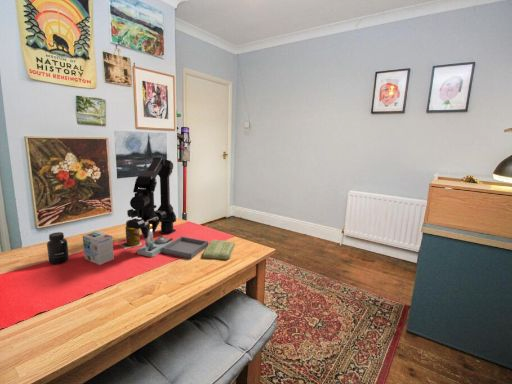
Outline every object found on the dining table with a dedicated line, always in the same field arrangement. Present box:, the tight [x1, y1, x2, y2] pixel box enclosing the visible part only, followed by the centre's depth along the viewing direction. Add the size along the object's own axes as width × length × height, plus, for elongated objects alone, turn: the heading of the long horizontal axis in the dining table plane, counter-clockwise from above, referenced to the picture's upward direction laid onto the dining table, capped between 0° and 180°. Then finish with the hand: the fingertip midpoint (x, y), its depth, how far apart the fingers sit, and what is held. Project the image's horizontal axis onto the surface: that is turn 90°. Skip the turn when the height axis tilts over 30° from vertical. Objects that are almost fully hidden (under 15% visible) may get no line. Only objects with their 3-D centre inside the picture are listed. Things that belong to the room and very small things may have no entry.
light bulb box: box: [82, 230, 115, 266], centre depth 114 cm, size 11×7×11 cm, turn 62°
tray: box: [161, 235, 209, 260], centre depth 127 cm, size 15×15×2 cm
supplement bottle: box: [46, 231, 70, 265], centre depth 110 cm, size 7×7×12 cm
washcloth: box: [202, 239, 236, 261], centre depth 127 cm, size 13×18×3 cm
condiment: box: [119, 219, 144, 250], centre depth 129 cm, size 7×8×12 cm
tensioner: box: [136, 235, 174, 258], centre depth 127 cm, size 16×9×3 cm, turn 161°
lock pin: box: [144, 222, 154, 247], centre depth 121 cm, size 3×3×10 cm
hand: (148, 236), depth 121 cm, fingers closed on lock pin, 3 cm apart
